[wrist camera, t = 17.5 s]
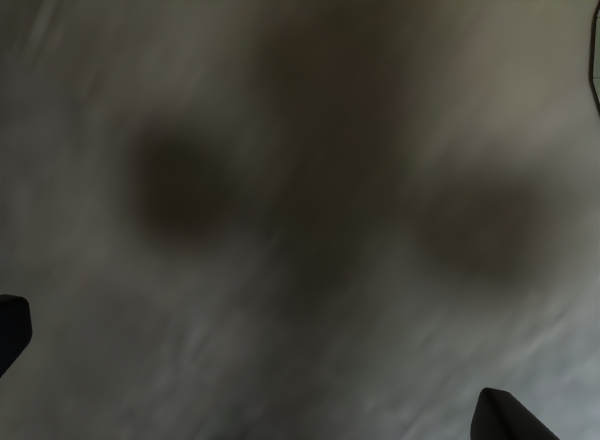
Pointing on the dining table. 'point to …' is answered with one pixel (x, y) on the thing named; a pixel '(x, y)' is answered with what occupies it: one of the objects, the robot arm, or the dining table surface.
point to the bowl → (597, 58)
